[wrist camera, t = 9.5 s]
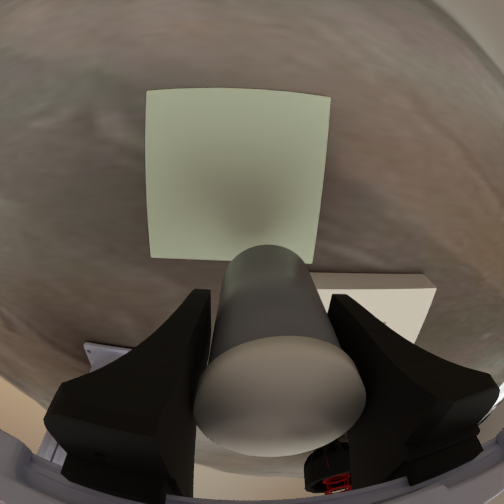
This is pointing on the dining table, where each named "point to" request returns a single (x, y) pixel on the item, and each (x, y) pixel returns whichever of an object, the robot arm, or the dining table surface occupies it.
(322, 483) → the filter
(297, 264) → the cylinder
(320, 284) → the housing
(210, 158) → the mat
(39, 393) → the dining table surface
